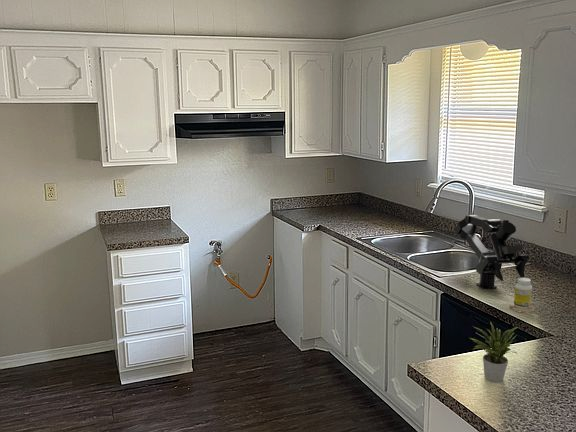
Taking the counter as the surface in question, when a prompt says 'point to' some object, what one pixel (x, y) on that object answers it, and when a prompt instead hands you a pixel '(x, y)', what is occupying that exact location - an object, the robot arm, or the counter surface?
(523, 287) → the pill bottle
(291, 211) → the counter surface
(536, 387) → the counter surface
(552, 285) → the counter surface
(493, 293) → the counter surface
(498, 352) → the house plant
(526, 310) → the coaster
